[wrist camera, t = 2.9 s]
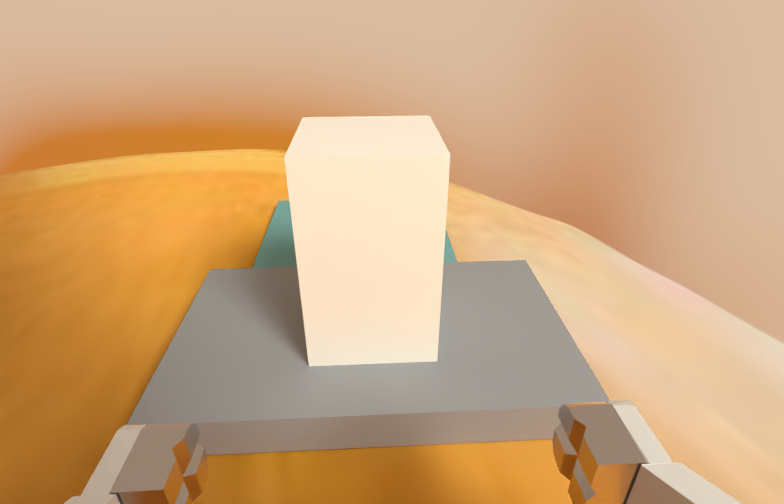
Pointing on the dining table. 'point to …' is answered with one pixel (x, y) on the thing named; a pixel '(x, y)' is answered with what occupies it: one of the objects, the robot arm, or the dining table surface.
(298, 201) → the cream block
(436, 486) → the dining table surface
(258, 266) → the mat
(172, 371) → the deck
